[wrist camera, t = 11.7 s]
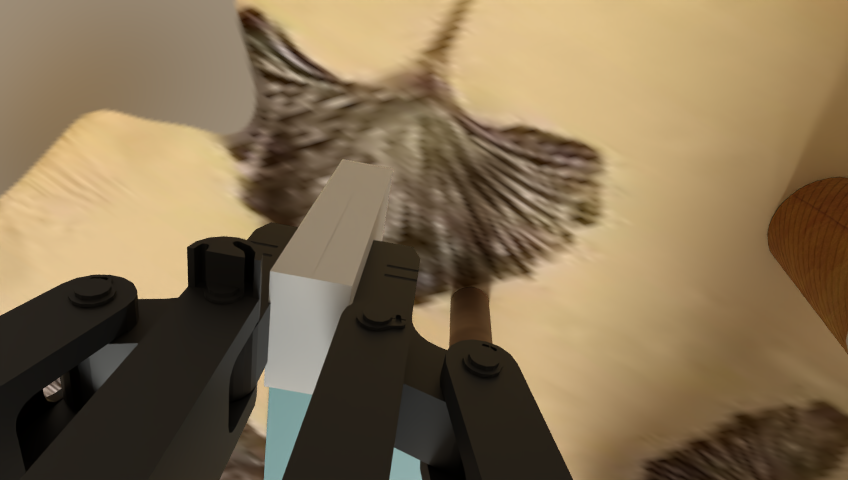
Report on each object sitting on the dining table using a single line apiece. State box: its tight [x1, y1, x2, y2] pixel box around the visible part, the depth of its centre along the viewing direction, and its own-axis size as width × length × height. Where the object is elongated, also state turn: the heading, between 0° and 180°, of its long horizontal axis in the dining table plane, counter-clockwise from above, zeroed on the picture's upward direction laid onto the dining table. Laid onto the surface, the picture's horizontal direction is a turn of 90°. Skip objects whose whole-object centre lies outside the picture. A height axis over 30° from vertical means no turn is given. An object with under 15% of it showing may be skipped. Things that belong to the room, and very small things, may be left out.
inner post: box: [449, 287, 492, 347], centre depth 33 cm, size 3×3×9 cm
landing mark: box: [264, 387, 422, 480], centre depth 43 cm, size 14×14×1 cm
